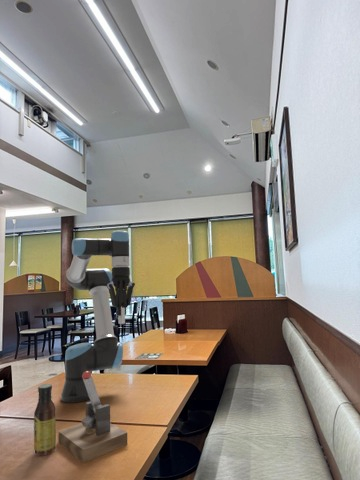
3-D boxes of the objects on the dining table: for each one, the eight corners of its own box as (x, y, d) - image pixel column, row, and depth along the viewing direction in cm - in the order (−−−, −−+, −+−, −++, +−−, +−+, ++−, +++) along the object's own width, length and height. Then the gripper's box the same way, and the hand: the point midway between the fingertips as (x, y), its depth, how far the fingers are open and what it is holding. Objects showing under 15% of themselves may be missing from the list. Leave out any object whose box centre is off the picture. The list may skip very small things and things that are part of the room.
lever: (82, 425, 107) (67, 379, 105) (100, 412, 111) (86, 368, 110) (89, 429, 103) (73, 382, 102) (107, 416, 108) (92, 370, 107)
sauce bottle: (37, 447, 104) (38, 382, 107) (58, 446, 105) (58, 381, 108) (30, 458, 98) (31, 389, 101) (51, 456, 99) (52, 387, 101)
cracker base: (58, 442, 107) (58, 405, 109) (99, 427, 117) (99, 393, 119) (83, 463, 94) (83, 420, 96) (127, 444, 104) (126, 406, 106)
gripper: (111, 266, 133) (112, 326, 130) (138, 266, 141) (139, 322, 138) (102, 267, 138) (103, 324, 135) (128, 267, 147) (129, 321, 144)
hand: (121, 323), depth 137 cm, fingers closed
